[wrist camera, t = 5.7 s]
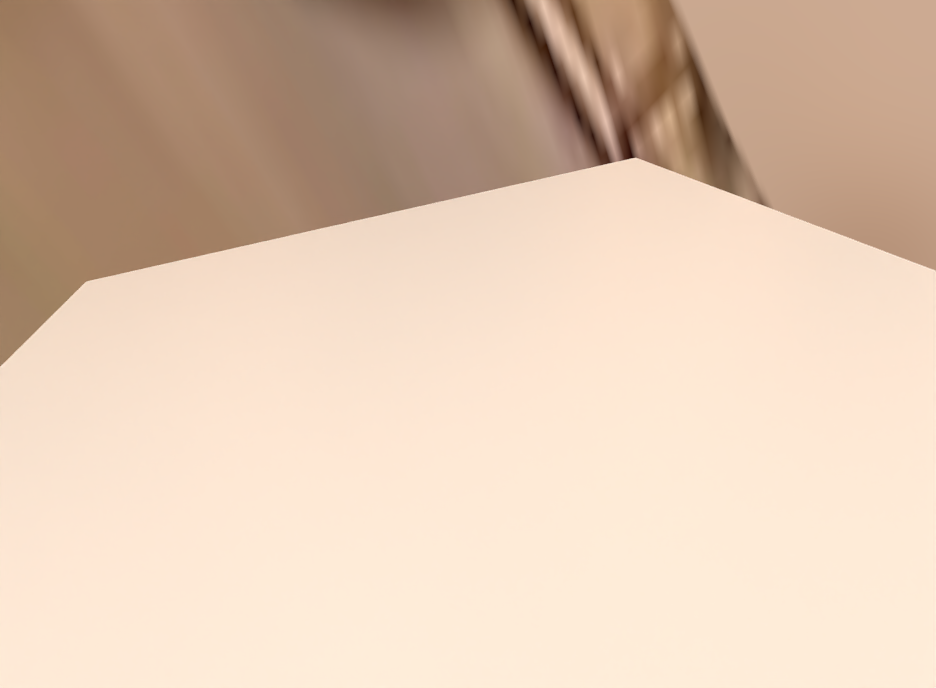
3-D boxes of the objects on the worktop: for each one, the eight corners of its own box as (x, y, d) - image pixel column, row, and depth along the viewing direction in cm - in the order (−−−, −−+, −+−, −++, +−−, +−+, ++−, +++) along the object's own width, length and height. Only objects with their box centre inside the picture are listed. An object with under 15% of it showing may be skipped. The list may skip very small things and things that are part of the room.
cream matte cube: (636, 157, 10) (1742, 576, 2) (670, 570, 13) (1177, 1356, 5) (86, 281, 10) (-1169, 1523, 2) (260, 686, 13) (144, 1778, 5)
